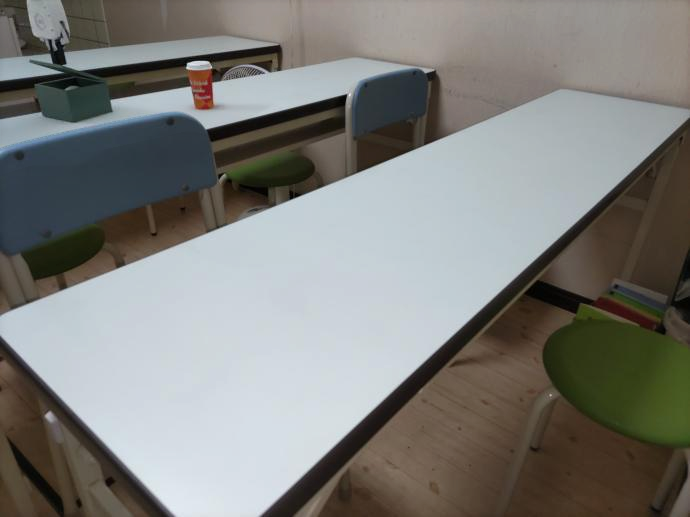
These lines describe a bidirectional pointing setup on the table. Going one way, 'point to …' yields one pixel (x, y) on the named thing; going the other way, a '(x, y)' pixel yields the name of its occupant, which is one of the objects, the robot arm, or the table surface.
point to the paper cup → (201, 84)
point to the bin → (73, 99)
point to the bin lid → (67, 70)
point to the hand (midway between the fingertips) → (60, 64)
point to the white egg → (72, 87)
